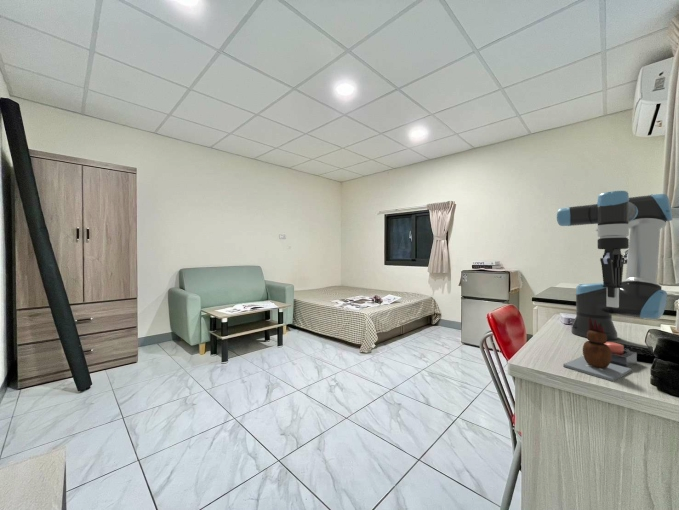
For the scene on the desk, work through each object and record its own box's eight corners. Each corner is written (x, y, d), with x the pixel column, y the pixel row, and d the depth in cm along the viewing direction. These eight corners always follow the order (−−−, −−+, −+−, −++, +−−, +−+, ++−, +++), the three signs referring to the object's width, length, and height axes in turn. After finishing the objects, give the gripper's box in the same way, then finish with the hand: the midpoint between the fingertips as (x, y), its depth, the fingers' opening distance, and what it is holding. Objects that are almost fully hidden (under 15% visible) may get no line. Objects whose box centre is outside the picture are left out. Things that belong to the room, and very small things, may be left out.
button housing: (601, 354, 100) (601, 344, 100) (636, 362, 92) (636, 352, 92) (590, 359, 96) (590, 349, 96) (626, 368, 88) (626, 357, 88)
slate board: (582, 358, 96) (582, 356, 96) (631, 371, 86) (631, 368, 86) (563, 366, 89) (563, 363, 89) (613, 381, 79) (613, 378, 79)
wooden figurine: (578, 361, 91) (578, 316, 91) (596, 361, 91) (596, 316, 91) (597, 370, 84) (597, 321, 84) (616, 370, 84) (616, 321, 84)
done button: (606, 349, 97) (606, 341, 97) (626, 354, 93) (626, 345, 93) (600, 352, 95) (600, 343, 95) (620, 356, 90) (620, 347, 90)
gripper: (605, 238, 100) (605, 303, 100) (590, 237, 94) (590, 306, 94) (635, 237, 93) (635, 307, 93) (620, 236, 87) (620, 310, 87)
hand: (612, 306), depth 93 cm, fingers closed
